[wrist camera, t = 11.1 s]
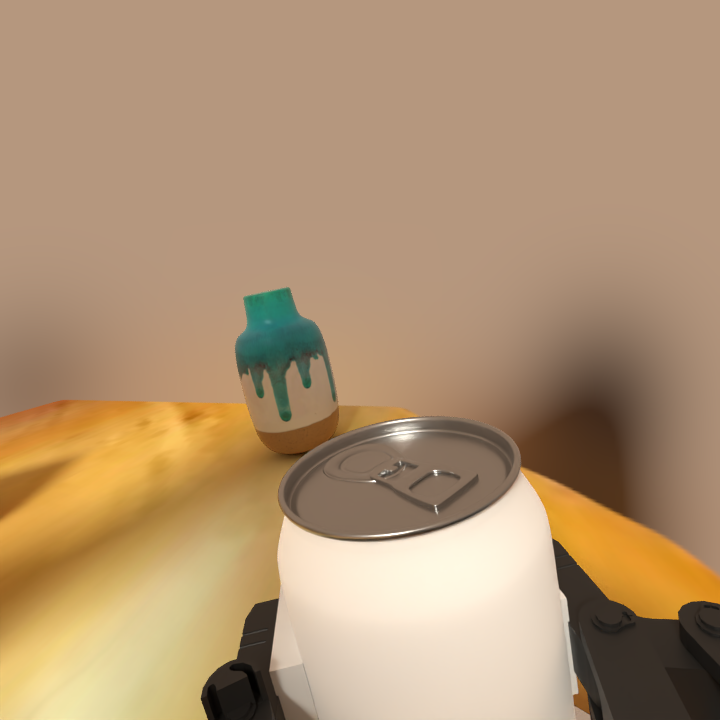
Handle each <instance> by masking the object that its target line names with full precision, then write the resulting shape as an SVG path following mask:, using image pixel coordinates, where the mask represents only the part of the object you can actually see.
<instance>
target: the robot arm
mask: <svg viewBox="0 0 720 720" xmlns="http://www.w3.org/2000/svg"><path fill="white" fill-rule="evenodd" d="M552 543H553V549H554V556H555V563H556V571H557V578H558V585H559V592H560V600H561V608H562V615H563V623H564V630H565V638H566V646H567V653H568V661H569V669H570V677H571V685H572V692H573V695H574V694H578V685H577V677H578V678H579V680H580V682H581V683H582V685H583V686H584V688H585V690H586V691H587V693H588V701H589V709H590V718H591V720H720V604H716V603H711V602H706V601H697V602H690V603H688V604H685V605H683V606H682V607H681V609H680V610H679V612H678V616H679V620H671V619H650V618H642V617H638V616H636V614H635V613H634V612H633V611H632V610H630V609H629V608H627V607H626V606H624V605H622V604H620V603H617V602H614V601H611V600H609V599H608V598H607V597H606V596H605V595H604V594H603V592H602V591H601V590H600V589H599V588H598V587H597V586H596V584H595V583H594V582H593V581H592V580H591V579H590V578H589V576H588V575H587V574H586V573H585V572H584V571H583V570H582V568H581V567H580V566H579V565H577V563H576V562H575V560H574V559H573V558H572V557H571V556H569V554H568V552H567V551H566V550H565V549H564V548H563V547H562V545H561V544H560V543H559V542H558V541H556V540H554V539H552ZM242 634H243V637H242V638H241V642H240V649H239V651H238V656H237V659H236V660H233V661H229V662H228V663H226V664H224V665H223V666H221V667H220V668H218V669H217V670H216V671H215V672H214V673H213V674H212V675H211V676H210V677H209V679H208V680H207V682H206V684H205V686H204V687H203V690H202V695H201V701H202V704H203V706H204V709H205V712H206V715H207V718H208V720H319V718H318V715H317V711H316V708H315V704H314V700H313V697H312V693H311V689H310V686H309V682H308V679H307V675H306V671H305V668H304V664H303V661H302V658H301V656H300V653H299V649H298V646H297V642H296V638H295V635H294V631H293V627H292V624H291V620H290V616H289V612H288V609H287V605H286V601H285V597H284V593H283V589H282V585H281V588H280V595H279V598H278V599H274V600H270V601H266V602H262V603H258V604H255V605H254V607H253V608H252V610H251V612H250V613H249V615H248V616H247V618H246V620H245V624H244V629H243V633H242ZM576 675H577V677H576Z"/></svg>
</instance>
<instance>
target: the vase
mask: <svg viewBox="0 0 720 720" xmlns="http://www.w3.org/2000/svg"><path fill="white" fill-rule="evenodd" d="M243 299H244V305H245V310H246V316H247V327H246V329H245V331H244V332H243V333H242V334H241V335H240V336H239V337H238V338H237V341H236V345H235V353H236V361H237V367H238V372H239V377H240V381H241V385H242V389H243V393H244V396H245V400H246V404H247V407H248V410H249V413H250V416H251V419H252V422H253V424H254V427H255V430H256V432H257V434H258V436H259V438H260V440H261V441H262V442H263V443H264V444H265V445H266V446H267V447H268V448H269V449H271V450H272V451H274V452H278V453H282V454H297V453H302V452H306V451H309V450H312V449H314V448H316V447H317V446H319V445H321V444H323V443H324V442H326V441H328V440H329V439H330V438H331V437H332V436H333V434H334V432H335V430H336V428H337V425H338V420H339V408H338V400H337V393H336V387H335V381H334V377H333V372H332V368H331V364H330V360H329V356H328V352H327V349H326V346H325V342H324V339H323V337H322V334H321V332H320V330H319V328H318V326H317V325H316V324H315V322H313V321H312V320H309V319H306V318H303V317H302V316H301V315H300V314H299V313H298V311H297V309H296V306H295V303H294V300H293V297H292V293H291V290H290V288H289V287H286V288H281V289H276V290H271V291H266V292H261V293H257V294H252V295H248V296H245V297H244V298H243Z"/></svg>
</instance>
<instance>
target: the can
mask: <svg viewBox="0 0 720 720" xmlns="http://www.w3.org/2000/svg"><path fill="white" fill-rule="evenodd" d="M520 467H521V456H520V452H519V449H518V447H517V445H516V444H515V442H514V441H513V440H512V439H511V438H510V437H509V436H508V435H507V434H505V433H504V432H503V431H501V430H499V429H497V428H496V427H493V426H491V425H488V424H485V423H482V422H479V421H475V420H471V419H465V418H457V417H445V416H425V417H411V418H403V419H396V420H390V421H385V422H381V423H376V424H372V425H368V426H365V427H362V428H358V429H355V430H352V431H350V432H347V433H344V434H342V435H339V436H337V437H335V438H333V439H330V440H328V441H326V442H324V443H323V444H321V445H319V446H317V447H316V448H314V449H312V450H311V451H309V452H308V453H306V454H305V455H304V456H302V457H301V458H300V459H299V460H298V461H297V462H295V463H294V464H293V465H292V466H291V468H290V469H289V470H288V471H287V473H286V474H285V476H284V477H283V479H282V481H281V483H280V486H279V491H278V501H279V505H280V508H281V510H282V512H283V513H284V515H285V516H284V520H283V524H282V529H281V533H280V538H279V544H278V554H277V561H278V569H279V576H280V581H281V585H282V589H283V593H284V597H285V601H286V605H287V609H288V612H289V616H290V620H291V624H292V627H293V631H294V635H295V638H296V642H297V646H298V649H299V653H300V656H301V658H302V661H303V664H304V668H305V671H306V675H307V679H308V682H309V686H310V689H311V693H312V697H313V700H314V704H315V708H316V711H317V715H318V718H319V720H576V716H575V708H574V700H573V692H572V685H571V677H570V669H569V661H568V653H567V646H566V638H565V630H564V623H563V615H562V608H561V600H560V592H559V585H558V578H557V571H556V563H555V556H554V549H553V543H552V537H551V531H550V526H549V522H548V518H547V514H546V511H545V508H544V506H543V504H542V502H541V500H540V498H539V496H538V495H537V493H536V492H535V490H534V489H533V487H532V486H531V484H530V483H529V481H528V480H527V479H526V477H525V476H524V475H523V473H522V472H521V471H520Z"/></svg>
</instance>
